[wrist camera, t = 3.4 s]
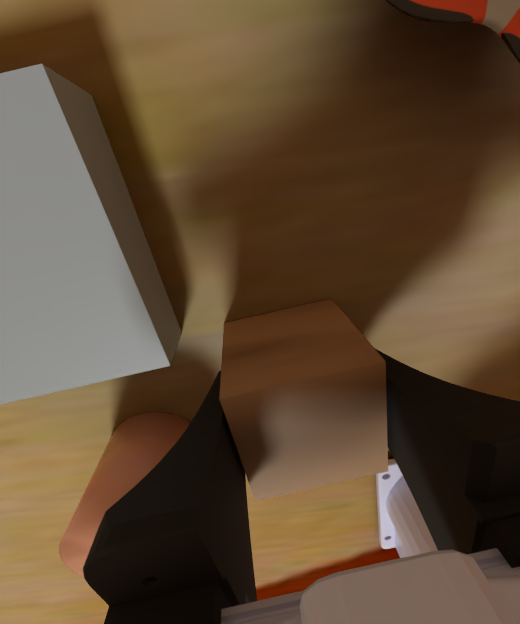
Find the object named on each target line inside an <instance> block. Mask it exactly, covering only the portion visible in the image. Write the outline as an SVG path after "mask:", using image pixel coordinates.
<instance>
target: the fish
mask: <svg viewBox="0 0 520 624" xmlns="http://www.w3.org/2000/svg"><path fill="white" fill-rule="evenodd" d="M386 1H387V2H388V3H389V4H391V5H392V6H393V7H395V8H396V9H397V10H399V11H401V12H403V13H404V14H406V15H408V16H411V17H414V18H416V19H419V20H424V21H428V22H435V23H478V24H483V25H485V26H487V27H488V28H490V29H491V30H493V31H494V32H496V33H497V34H498V35H499V36H500V37H501V39H502V40H503V41H504V43H505V44H506V45H507V47H508V48H509V50H510V51H511V52H512V54H513V55H514V56H515V58H516V59H517V60H518V62H519V63H520V0H386Z"/></svg>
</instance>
